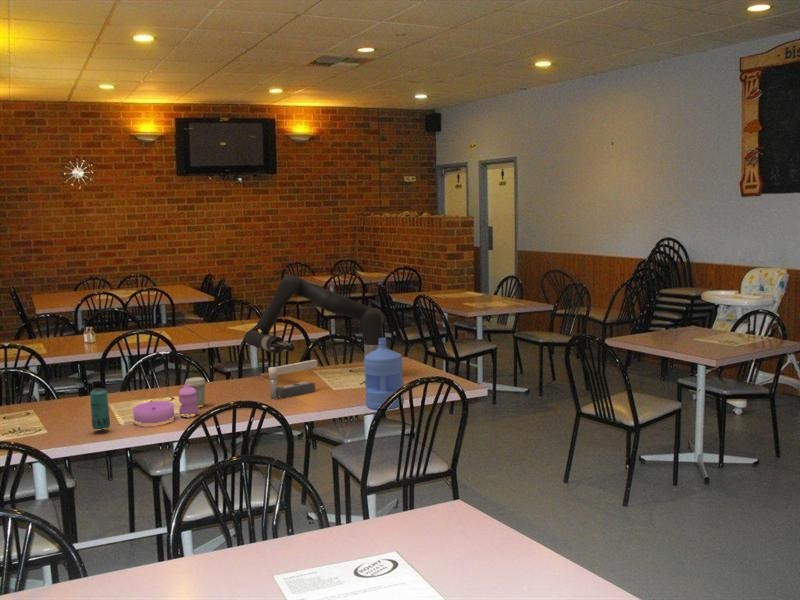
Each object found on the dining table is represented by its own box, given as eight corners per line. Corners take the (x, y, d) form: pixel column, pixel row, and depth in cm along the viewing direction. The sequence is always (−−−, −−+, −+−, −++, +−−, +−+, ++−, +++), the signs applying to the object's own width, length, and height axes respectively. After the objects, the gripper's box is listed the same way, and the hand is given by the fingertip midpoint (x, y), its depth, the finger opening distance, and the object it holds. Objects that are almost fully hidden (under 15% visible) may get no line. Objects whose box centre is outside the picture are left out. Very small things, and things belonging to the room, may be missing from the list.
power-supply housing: (284, 398, 342) (283, 388, 341) (277, 396, 346) (276, 386, 346) (315, 391, 352) (314, 382, 351) (308, 389, 356) (307, 380, 356)
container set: (137, 429, 304) (134, 396, 302) (131, 420, 317) (129, 388, 316) (202, 419, 315) (200, 387, 313) (194, 410, 328) (192, 379, 326)
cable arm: (271, 379, 339) (271, 369, 338) (267, 377, 341) (266, 367, 341) (318, 369, 353) (317, 360, 353) (313, 368, 356) (313, 358, 355)
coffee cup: (182, 408, 331) (180, 381, 330) (194, 403, 339) (192, 376, 337) (199, 410, 328) (197, 382, 326) (211, 404, 336) (209, 377, 334)
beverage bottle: (95, 430, 305) (90, 379, 302) (113, 428, 306) (108, 378, 303) (90, 435, 299) (85, 383, 296) (108, 434, 299) (103, 382, 296)
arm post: (272, 397, 344) (270, 377, 343) (278, 397, 344) (277, 377, 342) (270, 399, 341) (268, 379, 340) (277, 399, 341) (275, 379, 339)
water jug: (367, 400, 333) (364, 335, 329) (404, 399, 332) (402, 334, 328) (364, 411, 318) (361, 342, 314) (403, 410, 317) (400, 341, 313)
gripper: (259, 337, 360) (279, 342, 346) (285, 333, 368) (305, 338, 354) (260, 353, 361) (280, 359, 347) (285, 349, 369) (305, 355, 355)
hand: (292, 348), depth 351 cm, fingers closed
